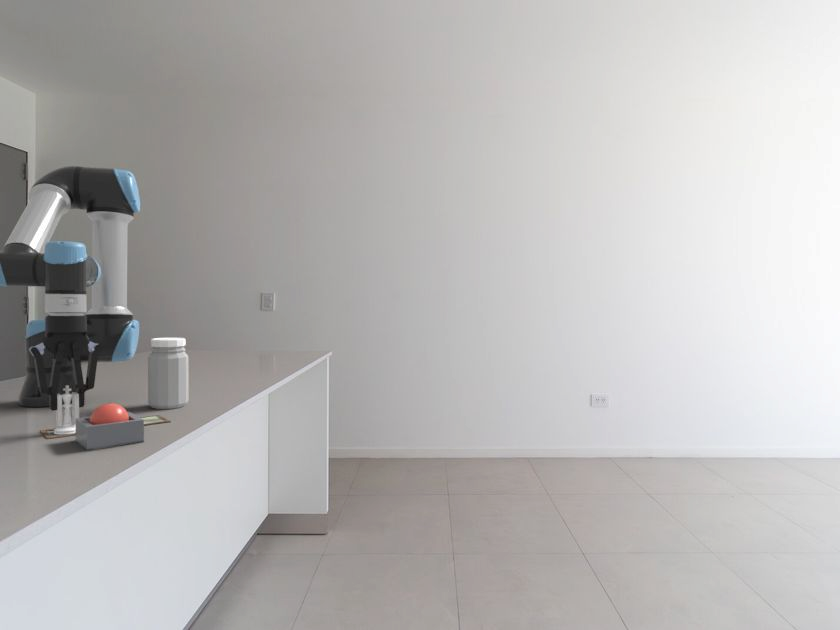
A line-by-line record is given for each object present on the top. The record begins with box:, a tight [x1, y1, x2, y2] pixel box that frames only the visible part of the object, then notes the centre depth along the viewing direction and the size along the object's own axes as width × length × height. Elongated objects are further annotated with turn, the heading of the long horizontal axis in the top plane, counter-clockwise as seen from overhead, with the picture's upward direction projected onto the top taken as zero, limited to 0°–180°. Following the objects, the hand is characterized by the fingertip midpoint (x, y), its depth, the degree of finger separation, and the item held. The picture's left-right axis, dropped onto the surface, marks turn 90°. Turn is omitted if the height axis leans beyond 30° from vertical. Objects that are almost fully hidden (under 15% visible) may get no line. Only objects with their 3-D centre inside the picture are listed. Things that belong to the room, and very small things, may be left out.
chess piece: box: [53, 385, 76, 436], centre depth 120 cm, size 5×5×10 cm
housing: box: [75, 411, 145, 452], centre depth 113 cm, size 10×10×4 cm
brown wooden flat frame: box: [39, 414, 171, 440], centre depth 125 cm, size 9×24×1 cm, turn 132°
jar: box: [147, 337, 190, 410], centre depth 148 cm, size 10×10×18 cm
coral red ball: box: [89, 403, 129, 425], centre depth 113 cm, size 7×7×7 cm
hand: (67, 423), depth 120 cm, fingers closed on chess piece, 2 cm apart
